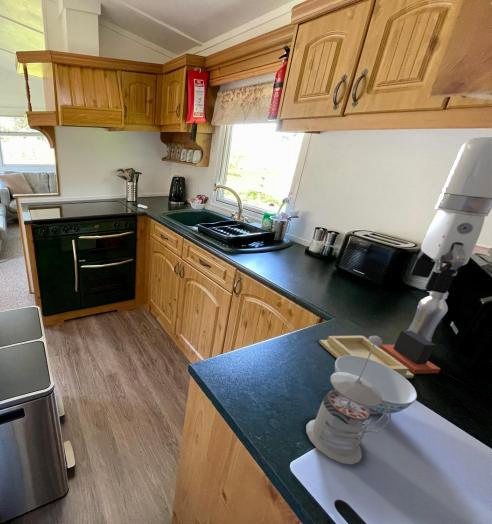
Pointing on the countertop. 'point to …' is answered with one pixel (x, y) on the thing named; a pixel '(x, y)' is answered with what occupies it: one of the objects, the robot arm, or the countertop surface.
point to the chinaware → (380, 382)
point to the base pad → (362, 351)
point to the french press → (350, 405)
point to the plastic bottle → (429, 314)
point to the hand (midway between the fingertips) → (426, 283)
